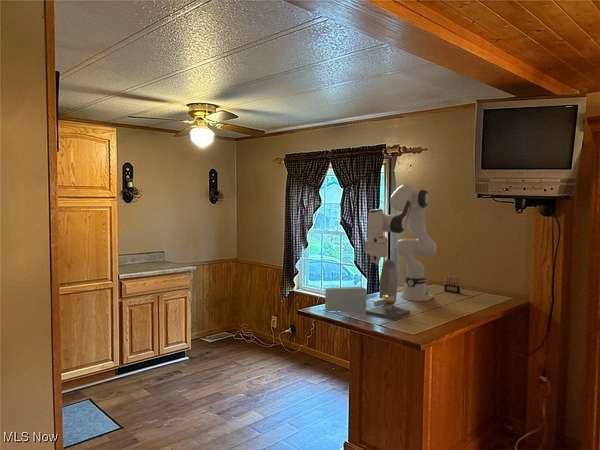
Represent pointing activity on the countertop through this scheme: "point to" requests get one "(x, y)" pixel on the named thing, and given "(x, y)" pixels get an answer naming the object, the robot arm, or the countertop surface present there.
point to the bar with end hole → (345, 299)
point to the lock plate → (388, 312)
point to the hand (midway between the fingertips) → (374, 263)
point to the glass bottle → (388, 279)
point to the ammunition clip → (452, 284)
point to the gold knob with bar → (385, 300)
